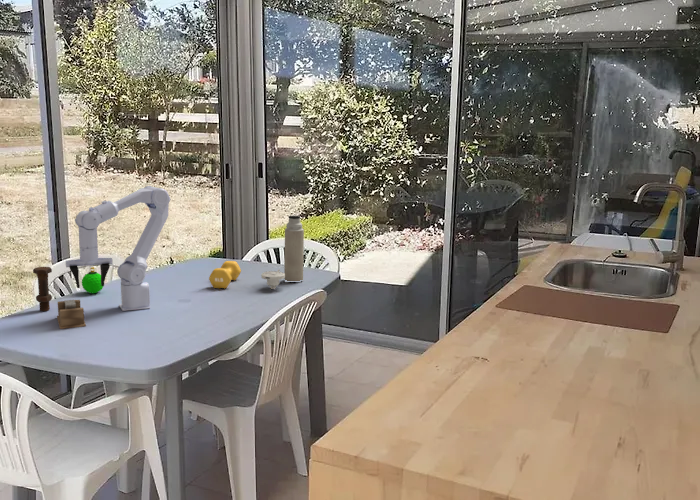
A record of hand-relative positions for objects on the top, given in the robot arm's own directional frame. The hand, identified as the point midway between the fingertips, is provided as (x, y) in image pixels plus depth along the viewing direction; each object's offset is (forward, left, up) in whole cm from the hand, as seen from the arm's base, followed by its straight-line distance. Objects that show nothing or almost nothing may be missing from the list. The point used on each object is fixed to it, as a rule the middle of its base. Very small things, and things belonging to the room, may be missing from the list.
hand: (90, 286), depth 221 cm
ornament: (-4, -30, -10) cm, 31 cm away
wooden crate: (+7, +6, -10) cm, 14 cm away
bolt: (+14, -11, -10) cm, 20 cm away
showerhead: (-70, -11, -10) cm, 72 cm away
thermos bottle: (-83, -21, -10) cm, 86 cm away
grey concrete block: (+7, +6, -9) cm, 13 cm away
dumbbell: (-55, -26, -10) cm, 61 cm away
